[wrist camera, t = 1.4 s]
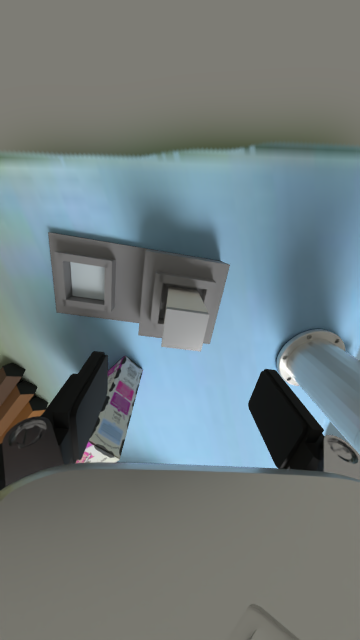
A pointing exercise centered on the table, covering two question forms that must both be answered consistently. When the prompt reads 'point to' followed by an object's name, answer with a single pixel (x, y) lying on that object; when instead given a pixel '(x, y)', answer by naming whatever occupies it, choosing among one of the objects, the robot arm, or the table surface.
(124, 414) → the candy bar box
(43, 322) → the table surface
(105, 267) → the stepped socket base
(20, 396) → the pan flute
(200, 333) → the plug
